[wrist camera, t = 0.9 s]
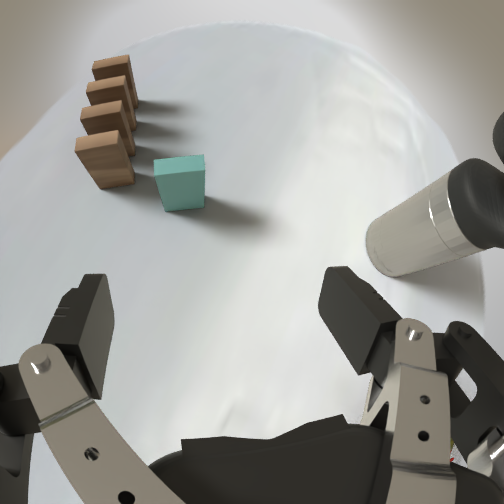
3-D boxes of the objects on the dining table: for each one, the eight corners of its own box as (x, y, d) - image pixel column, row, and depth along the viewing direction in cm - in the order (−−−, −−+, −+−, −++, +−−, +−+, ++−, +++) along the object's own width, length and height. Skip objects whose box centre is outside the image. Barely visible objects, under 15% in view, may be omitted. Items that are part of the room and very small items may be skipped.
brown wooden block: (108, 104, 39) (94, 61, 29) (138, 99, 40) (128, 54, 30) (107, 113, 39) (91, 69, 29) (137, 108, 40) (127, 62, 30)
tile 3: (102, 150, 37) (82, 108, 28) (135, 145, 38) (121, 100, 28) (101, 160, 37) (79, 119, 27) (134, 155, 38) (120, 111, 28)
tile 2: (100, 177, 36) (76, 138, 27) (134, 172, 37) (118, 129, 28) (100, 189, 36) (74, 151, 26) (134, 183, 37) (117, 143, 27)
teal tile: (164, 198, 37) (153, 159, 27) (202, 194, 38) (203, 154, 28) (165, 211, 37) (154, 175, 27) (204, 207, 38) (205, 170, 28)
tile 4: (105, 126, 38) (88, 82, 28) (136, 121, 39) (125, 75, 29) (104, 135, 38) (85, 92, 28) (136, 130, 39) (123, 84, 29)
